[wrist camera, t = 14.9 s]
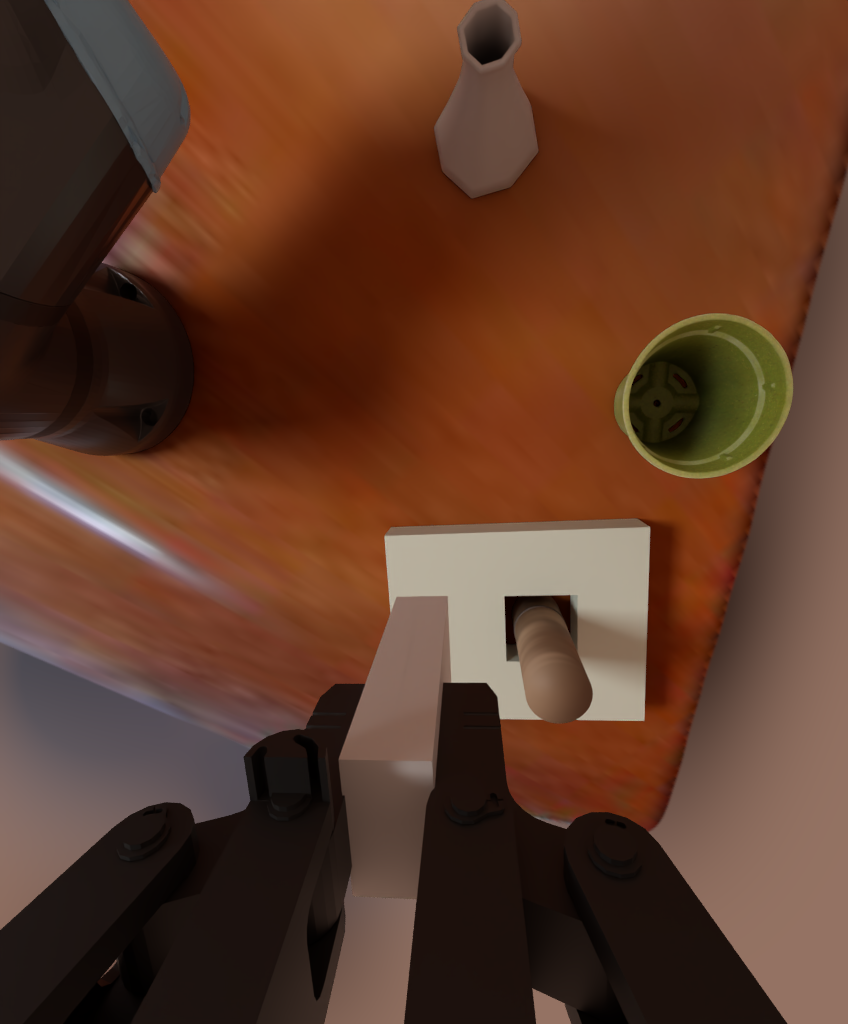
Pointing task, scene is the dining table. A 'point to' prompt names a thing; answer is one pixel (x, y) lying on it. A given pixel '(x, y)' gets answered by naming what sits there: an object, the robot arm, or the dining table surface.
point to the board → (535, 572)
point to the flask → (487, 106)
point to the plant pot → (706, 396)
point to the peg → (549, 661)
